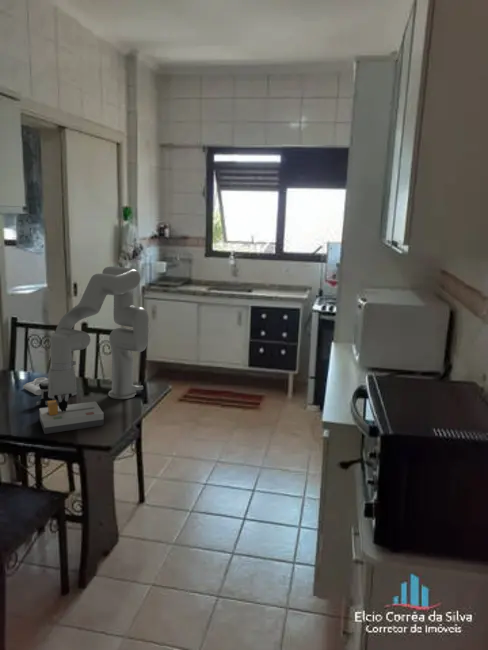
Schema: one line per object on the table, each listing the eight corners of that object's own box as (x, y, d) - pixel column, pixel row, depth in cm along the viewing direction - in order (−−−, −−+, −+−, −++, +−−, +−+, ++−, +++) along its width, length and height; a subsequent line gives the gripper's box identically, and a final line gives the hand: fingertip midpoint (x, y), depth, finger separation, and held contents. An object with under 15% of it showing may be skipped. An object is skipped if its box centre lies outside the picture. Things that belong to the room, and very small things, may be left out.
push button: (37, 407, 213) (37, 385, 211) (35, 403, 218) (34, 381, 216) (54, 405, 217) (53, 383, 215) (50, 401, 221) (50, 379, 219)
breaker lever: (56, 415, 199) (55, 400, 198) (58, 419, 195) (57, 404, 194) (47, 416, 198) (47, 401, 196) (49, 421, 193) (49, 405, 192)
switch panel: (94, 410, 213) (94, 399, 212) (103, 425, 200) (103, 412, 198) (39, 418, 203) (38, 405, 202) (44, 433, 189) (44, 421, 188)
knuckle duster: (20, 388, 236) (49, 382, 247) (38, 398, 225) (68, 391, 235) (19, 381, 235) (49, 375, 246) (38, 391, 224) (68, 384, 235)
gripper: (79, 360, 200) (80, 404, 204) (39, 364, 193) (41, 409, 197) (83, 366, 194) (84, 410, 198) (42, 370, 187) (44, 416, 191)
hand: (63, 410), depth 198 cm, fingers closed
